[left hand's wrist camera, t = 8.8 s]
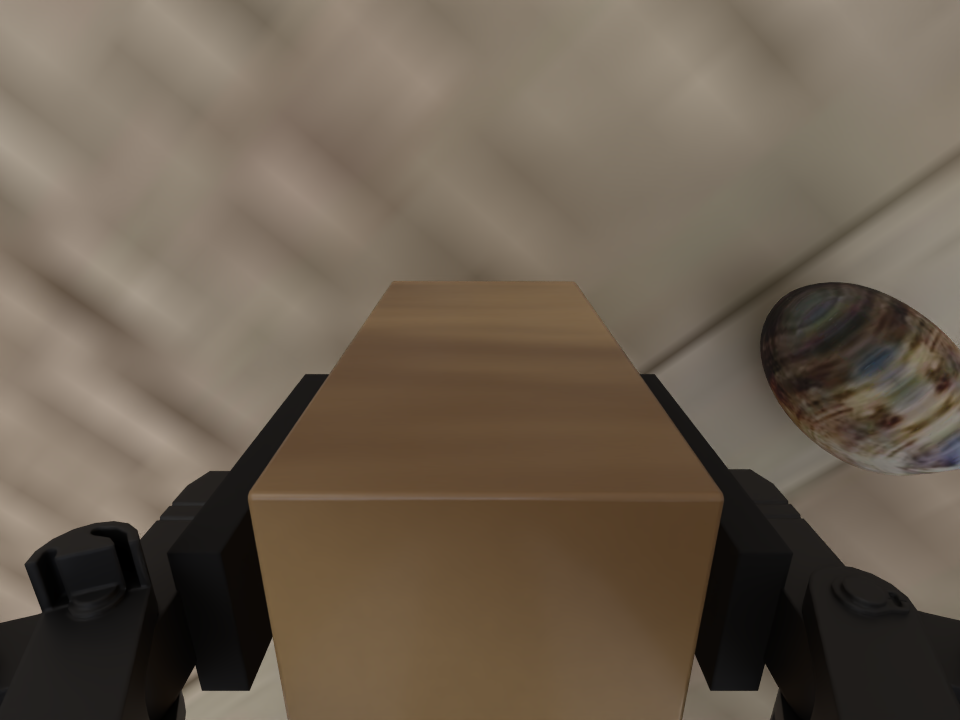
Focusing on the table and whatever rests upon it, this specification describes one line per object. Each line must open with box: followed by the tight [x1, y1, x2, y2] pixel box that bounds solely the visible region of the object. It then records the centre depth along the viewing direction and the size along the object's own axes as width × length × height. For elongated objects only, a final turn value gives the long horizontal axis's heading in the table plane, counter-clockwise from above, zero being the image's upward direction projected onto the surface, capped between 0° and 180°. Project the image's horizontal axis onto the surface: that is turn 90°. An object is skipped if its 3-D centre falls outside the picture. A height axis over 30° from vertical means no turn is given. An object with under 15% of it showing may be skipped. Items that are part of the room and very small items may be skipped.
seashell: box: [761, 282, 960, 476], centre depth 21 cm, size 10×6×8 cm, turn 45°
